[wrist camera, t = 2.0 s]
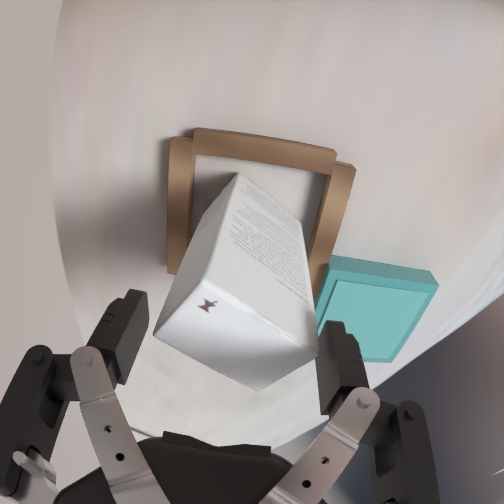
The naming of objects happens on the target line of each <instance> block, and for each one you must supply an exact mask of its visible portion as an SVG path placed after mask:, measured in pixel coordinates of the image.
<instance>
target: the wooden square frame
mask: <svg viewBox="0 0 504 504" xmlns="http://www.w3.org/2000/svg"><path fill="white" fill-rule="evenodd" d="M196 154H205V155H213V156H221V157H228V158H236V159H243V160H249V161H256V162H262V163H268V164H274V165H280V166H286V167H291V168H297V169H302V170H307V171H313V172H318V173H323V174H327V179H326V184H325V188H324V192H323V196H322V200H321V203H320V207H319V211H318V215H317V219H316V223H315V226H314V230H313V234H312V238H311V241H310V245H309V249H308V252H307V262H308V268H309V274H310V281H311V288H312V295H313V296H318V293H319V290H320V287H321V284H322V281H323V278H324V275H325V272H326V269H327V266H328V263H329V260H330V257H331V254H332V251H333V248H334V245H335V242H336V238H337V235H338V232H339V229H340V225H341V222H342V219H343V215H344V212H345V209H346V205H347V202H348V198H349V195H350V191H351V188H352V184H353V180H354V177H355V173H356V169H355V167H354V166H353V165H352V164H347V163H343V162H339V161H335V160H336V156H337V153H336V152H335V150H334V149H330V148H325V147H320V146H316V145H311V144H306V143H301V142H296V141H290V140H285V139H279V138H273V137H267V136H261V135H254V134H247V133H240V132H233V131H225V130H216V129H207V128H197V129H196V130H194V136H193V138H189V137H178V136H176V137H174V138H172V139H171V140H170V155H169V175H168V205H167V273H170V274H175V275H176V274H177V272H178V270H179V267H180V265H181V262H182V260H183V258H184V256H185V253H186V251H187V249H188V246H189V244H190V233H191V214H192V198H193V184H194V171H195V159H196Z"/></svg>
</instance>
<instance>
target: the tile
mask: <svg viewBox="0 0 504 504" xmlns="http://www.w3.org/2000/svg"><path fill="white" fill-rule="evenodd" d="M438 287H439V285H438V283H437V281H436V280H435V278H434V277H433V275H432V273H431V272H429V271H424V270H418V269H412V268H406V267H400V266H394V265H388V264H382V263H376V262H370V261H364V260H358V259H352V258H346V257H340V256H334V255H331V257H330V260H329V263H328V266H327V269H326V272H325V275H324V278H323V281H322V284H321V287H320V290H319V293H318V296H313V302H314V309H315V317H316V323H317V331H318V338H319V335H320V333H321V331H322V328H323V326H324V323H325V322H326V320H333V321H342V322H344V325H345V329H346V333H349V334H353V336H354V337H355V338H356V340H357V341H358V343H359V347H360V350H361V354H362V359H363V360H362V361H363V362H383V363H392V361H393V360H394V358H395V357H396V356H397V354H398V353H399V351H400V350H401V348H402V347H403V345H404V344H405V342H406V341H407V339H408V338H409V336H410V334H411V333H412V331H413V330H414V328H415V326H416V325H417V323H418V322H419V320H420V318H421V317H422V315H423V313H424V311H425V310H426V308H427V306H428V305H429V303H430V301H431V299H432V298H433V296H434V294H435V292H436V290H437V288H438Z"/></svg>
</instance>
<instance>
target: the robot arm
mask: <svg viewBox="0 0 504 504" xmlns="http://www.w3.org/2000/svg"><path fill="white" fill-rule="evenodd" d="M148 324H149V310H148V299H147V293H146V292H144V291H139V290H134V289H129V291H128V292H127V294H126V296H125V298H124V299H121V298H117V299H116V300H114V301H113V302H112V303H110V304H109V306H108V307H107V309H106V311H105V314H103V316H102V318H101V321H99V323H98V325H97V327H96V328H95V330H94V332H93V334H92V336H91V337H90V339H89V341H88V343H87V345H86V346H83V347H80V348H78V349H76V350H75V351H74V352H73V353H72V354H53V353H52V351H51V350H50V348H48V347H47V346H45V345H36V346H33V347H32V348H30V349H29V350H28V351H27V352H26V354H25V356H24V358H23V359H22V362H21V363H20V365H19V367H18V369H17V371H16V373H15V375H14V377H13V379H12V381H11V383H10V385H9V387H8V389H7V391H6V393H5V395H4V397H3V399H2V401H1V404H0V496H2V497H4V498H6V499H8V500H10V501H12V502H15V503H18V504H327V503H326V502H325V500H323V497H324V496H325V494H326V493H327V492H328V490H329V489H330V488H331V486H332V485H333V484H334V482H335V481H336V480H337V478H338V477H339V475H340V474H341V472H342V471H343V470H344V468H345V467H346V465H347V464H348V462H349V461H350V459H351V458H352V457H353V455H354V454H355V452H356V450H357V449H358V447H359V444H358V443H362V444H365V445H368V447H369V459H370V472H371V489H372V504H440V500H439V491H438V484H437V477H436V470H435V465H434V459H433V453H432V448H431V443H430V438H429V433H428V428H427V424H426V419H425V415H424V411H423V409H422V408H421V406H420V405H418V404H417V403H416V402H414V401H409V400H408V401H404V402H402V403H400V405H399V406H396V405H393V404H389V403H386V402H383V401H381V400H379V397H378V396H377V394H376V393H375V392H374V391H372V390H371V389H370V388H369V384H368V380H367V375H366V371H365V367H364V363H363V361H362V360H363V359H362V354H361V350H360V347H359V343H358V341H357V340H356V338H355V337H354V336H353V334H349V333H346V329H345V325H344V322H342V321H333V320H326V322H325V323H324V326H323V328H322V331H321V333H320V335H319V338H318V339H319V346H320V355H319V356H318V357H316V358H315V362H316V371H317V380H318V390H319V400H320V411H321V415H329V422H328V423H327V425H326V426H325V427H324V429H323V430H322V431H321V433H320V434H319V435H318V436H317V438H316V439H315V440H314V441H313V442H312V444H311V445H310V446H309V447H308V449H307V450H306V451H305V452H304V453H303V455H302V456H301V457H300V458H299V459H298V460H297V461H296V462H295V464H294V465H293V464H291V463H290V462H289V461H287V460H286V459H284V458H283V457H281V456H279V455H276V454H274V453H271V446H260V445H249V444H241V445H232V446H221V447H217V446H213V445H210V444H208V443H205V442H203V441H200V440H198V439H195V438H193V437H191V436H187V435H182V434H177V433H172V432H167V431H164V432H163V436H162V437H152V438H148V439H144V440H142V441H139V442H136V440H135V438H134V436H133V433H132V431H131V429H130V427H129V425H128V422H127V420H126V418H125V415H124V413H123V411H122V408H121V406H120V404H119V401H118V399H117V396H116V394H115V391H114V390H115V388H116V385H117V383H118V384H122V385H125V384H126V381H127V379H128V376H129V373H130V371H131V368H132V366H133V363H134V361H135V358H136V355H137V353H138V350H139V348H140V346H141V343H142V341H143V338H144V336H145V333H146V331H147V328H148ZM70 401H80V402H81V403H80V409H81V413H82V416H83V419H84V422H85V425H86V428H87V431H88V434H89V437H90V439H91V442H92V445H93V447H94V450H95V452H96V455H97V458H98V460H99V463H100V465H101V466H100V467H99V468H97V469H96V470H94V471H92V472H91V473H89V474H87V475H86V476H84V477H82V478H81V479H79V480H77V481H76V482H74V483H72V484H71V485H69V486H67V487H66V488H64V489H62V490H61V491H60V492H58V490H57V488H56V473H55V470H54V468H53V466H52V465H51V464H50V463H49V461H50V458H51V454H52V451H53V448H54V445H55V442H56V439H57V436H58V433H59V430H60V427H61V424H62V421H63V418H64V416H65V413H66V410H67V407H68V405H69V402H70Z"/></svg>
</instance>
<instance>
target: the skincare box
mask: <svg viewBox="0 0 504 504" xmlns="http://www.w3.org/2000/svg"><path fill="white" fill-rule="evenodd" d="M153 336H154V337H155V338H157V339H159V340H160V341H162V342H164V343H166V344H168V345H169V346H171V347H173V348H175V349H177V350H179V351H180V352H182V353H184V354H186V355H188V356H189V357H191V358H193V359H195V360H197V361H199V362H200V363H202V364H204V365H206V366H208V367H210V368H212V369H213V370H215V371H217V372H219V373H221V374H223V375H225V376H227V377H229V378H231V379H233V380H236V381H238V382H240V383H242V384H244V385H246V386H248V387H250V388H252V389H254V390H256V391H260V390H261V389H263V388H265V387H267V386H268V385H270V384H272V383H274V382H275V381H277V380H279V379H281V378H282V377H284V376H286V375H287V374H289V373H291V372H292V371H294V370H296V369H298V368H299V367H301V366H303V365H304V364H306V363H308V362H310V361H311V360H313V359H315V358H316V357H318V356H319V355H320V346H319V339H318V331H317V323H316V317H315V309H314V302H313V295H312V288H311V281H310V274H309V268H308V262H307V256H306V250H305V243H304V237H303V231H302V225H301V222H300V221H298V220H297V219H296V218H295V217H293V216H292V215H291V214H290V213H289V212H288V211H286V210H285V209H284V208H283V207H282V206H280V205H279V204H278V203H277V202H275V201H274V200H273V199H272V198H271V197H269V196H268V195H267V194H266V193H264V192H263V191H262V190H261V189H259V188H258V187H257V186H256V185H254V184H253V183H252V182H251V181H249V180H248V179H247V178H246V177H244V176H243V175H242V174H241V173H237V174H236V175H235V176H234V178H233V179H232V180H231V181H230V182H229V183H228V184H227V185H226V187H225V188H224V189H223V190H222V191H221V192H220V194H219V195H218V196H217V197H216V199H215V200H214V201H213V202H212V204H211V205H210V206H209V207H208V208H207V209H206V211H205V212H204V213H203V215H202V218H201V220H200V222H199V224H198V226H197V228H196V231H195V233H194V235H193V237H192V240H191V242H190V244H189V246H188V249H187V251H186V253H185V256H184V258H183V260H182V262H181V265H180V267H179V270H178V272H177V274H176V277H175V279H174V281H173V284H172V286H171V289H170V291H169V293H168V296H167V298H166V301H165V304H164V306H163V309H162V311H161V313H160V316H159V318H158V321H157V323H156V326H155V329H154V331H153Z"/></svg>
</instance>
